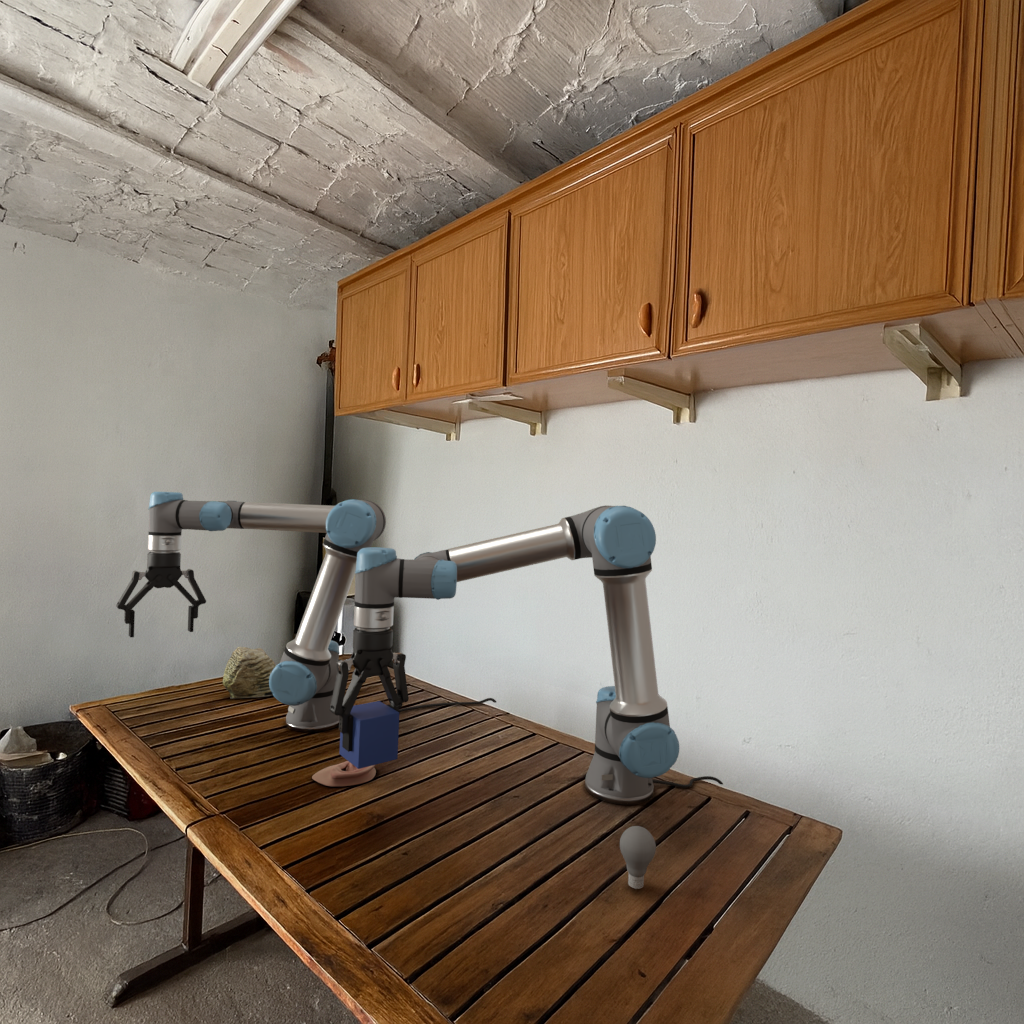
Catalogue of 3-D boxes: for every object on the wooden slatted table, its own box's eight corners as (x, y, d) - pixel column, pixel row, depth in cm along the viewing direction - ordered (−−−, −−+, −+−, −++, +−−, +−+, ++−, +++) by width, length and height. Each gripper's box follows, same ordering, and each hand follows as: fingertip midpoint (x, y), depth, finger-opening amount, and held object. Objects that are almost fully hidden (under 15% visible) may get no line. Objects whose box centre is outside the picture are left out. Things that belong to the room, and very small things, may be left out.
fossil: (218, 695, 195) (220, 647, 195) (278, 685, 208) (279, 640, 207) (228, 703, 189) (230, 653, 188) (289, 692, 201) (290, 645, 201)
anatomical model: (305, 765, 139) (330, 745, 150) (304, 783, 139) (330, 762, 151) (361, 773, 137) (383, 752, 148) (360, 791, 137) (382, 769, 148)
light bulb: (613, 876, 109) (616, 819, 109) (647, 876, 110) (650, 819, 110) (622, 898, 103) (625, 837, 103) (658, 897, 104) (661, 837, 104)
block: (339, 754, 124) (341, 707, 123) (377, 745, 129) (379, 700, 129) (358, 769, 117) (360, 720, 117) (397, 759, 122) (399, 712, 122)
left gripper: (109, 553, 152) (106, 641, 153) (220, 552, 168) (217, 631, 168) (105, 551, 158) (102, 635, 158) (212, 549, 174) (209, 626, 174)
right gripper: (329, 636, 113) (324, 763, 113) (430, 626, 126) (425, 738, 127) (312, 629, 119) (308, 749, 119) (410, 619, 132) (406, 727, 132)
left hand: (161, 633), depth 163 cm, fingers open, 13 cm apart
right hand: (368, 743), depth 123 cm, fingers closed on block, 8 cm apart
